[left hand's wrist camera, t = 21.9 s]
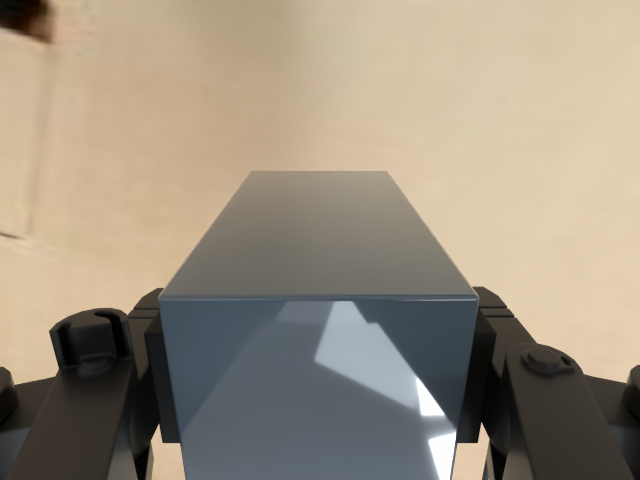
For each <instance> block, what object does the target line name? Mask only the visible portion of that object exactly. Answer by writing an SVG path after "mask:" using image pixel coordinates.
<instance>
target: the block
mask: <svg viewBox="0 0 640 480" xmlns="http://www.w3.org/2000/svg"><path fill="white" fill-rule="evenodd" d="M158 304H159V311H160V317H161V323H162V330H163V336H164V343H165V349H166V356H167V362H168V368H169V375H170V381H171V388H172V394H173V401H174V407H175V413H176V420H177V426H178V433H179V439H180V446H181V452H182V458H183V465H184V471H185V478H186V480H452V474H453V467H454V461H455V454H456V448H457V441H458V435H459V428H460V422H461V415H462V409H463V402H464V396H465V389H466V382H467V376H468V369H469V363H470V356H471V350H472V343H473V337H474V330H475V324H476V317H477V311H478V304H479V296H478V294H477V293H476V292H475V290H474V289H473V288H472V286H471V285H470V284H469V282H468V281H467V279H466V278H465V277H464V275H463V274H462V273H461V271H460V270H459V269H458V267H457V266H456V264H455V263H454V262H453V260H452V259H451V258H450V256H449V255H448V254H447V252H446V251H445V249H444V248H443V247H442V245H441V244H440V243H439V241H438V240H437V238H436V237H435V236H434V234H433V233H432V232H431V230H430V229H429V228H428V226H427V225H426V223H425V222H424V221H423V219H422V218H421V217H420V215H419V214H418V213H417V211H416V210H415V208H414V207H413V206H412V204H411V203H410V202H409V200H408V199H407V197H406V196H405V195H404V193H403V192H402V191H401V189H400V188H399V187H398V185H397V184H396V182H395V181H394V180H393V178H392V177H391V176H390V174H389V173H388V172H387V171H251V172H250V174H249V175H248V176H247V178H246V179H245V180H244V182H243V183H242V184H241V186H240V187H239V188H238V190H237V191H236V192H235V194H234V195H233V196H232V198H231V199H230V200H229V202H228V203H227V204H226V206H225V207H224V208H223V210H222V211H221V213H220V214H219V215H218V217H217V218H216V219H215V221H214V222H213V223H212V225H211V226H210V227H209V229H208V230H207V231H206V233H205V234H204V235H203V237H202V238H201V239H200V241H199V242H198V243H197V245H196V246H195V247H194V249H193V250H192V252H191V253H190V254H189V256H188V257H187V258H186V260H185V261H184V262H183V264H182V265H181V266H180V268H179V269H178V270H177V272H176V273H175V274H174V276H173V277H172V278H171V280H170V281H169V282H168V284H167V285H166V286H165V288H164V289H163V290H162V292H161V293H160V295H159V296H158Z"/></svg>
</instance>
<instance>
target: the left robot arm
mask: <svg viewBox="0 0 640 480" xmlns="http://www.w3.org/2000/svg"><path fill="white" fill-rule="evenodd" d="M472 288H473V289H474V290H475V292H476V293H477V294H478V296H479V304H478V311H477V317H476V324H475V330H474V337H473V343H472V350H471V356H470V363H469V369H468V376H467V382H466V389H465V396H464V402H463V409H462V415H461V422H460V428H459V435H458V441H457V443H478V438H479V432H480V427H481V422H482V424H483V426H484V428H485V430H486V432H487V434H488V436H489V439H490V440H489V445H488V450H487V456H486V461H485V466H484V472H483V477H482V480H488V479H489V480H640V365H637V366H636V367H634V368H633V369H631V371H630V374H629V377H628V380H627V383H622V382H617V381H612V380H607V379H602V378H597V377H592V376H588V375H585V374H583V372H582V369H581V368H580V366H579V365H578V364H577V363H576V361H575V360H574V359H572V358H571V357H569V356H568V355H567V354H565V353H564V352H562V351H559V350H557V349H555V348H552V347H550V346H546V345H542V344H537V343H536V341H535V340H534V339H533V338H532V337H531V335H530V334H529V333H528V332H527V330H526V329H525V328H524V327H523V326H522V324H521V323H520V322H519V321H518V319H517V318H514V315H513V313H512V312H511V311H510V310H509V309H507V306H506V305H505V304H504V302H503V301H502V300H501V299H500V297H499V296H498V295H496V294H494V293H493V292H491V291H489V290H488V289H486V288H484V287H472ZM163 289H164V288H157V289H155V290H153V291H152V292H150V293H148V294H147V295H145V296H144V297H142V298H141V299H140V301H139V302H138V303H137V304H136V306H135V307H134V310H132V311H131V312H130V313H129V314H128V315H127V314H125V313H124V312H123V311H121V310H118V309H113V308H96V309H91V310H87V311H82V312H79V313H76V314H74V315H71V316H68V317H67V318H65V319H63V320H61V321H60V322H58V323H56V324H55V325H54V327H53V328H52V329H51V330H50V331H49V333H50V337H51V340H52V344H53V348H54V352H55V355H56V359H57V363H58V366H59V370H58V372H57V374H56V376H55V377H51V378H47V379H42V380H37V381H32V382H27V383H22V384H17V385H14V382H13V379H12V376H11V373H10V371H8V370H7V369H6V368H4V367H0V480H151V477H152V469H153V460H154V457H153V451H152V445H151V439H152V437H153V435H154V433H155V431H156V429H157V426H158V424H159V425H160V431H161V436H162V442H163V443H180V439H179V433H178V426H177V420H176V413H175V407H174V401H173V394H172V388H171V381H170V375H169V368H168V362H167V356H166V349H165V343H164V336H163V330H162V323H161V317H160V311H159V304H158V296H159V295H160V293H161V292H162V290H163Z"/></svg>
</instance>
